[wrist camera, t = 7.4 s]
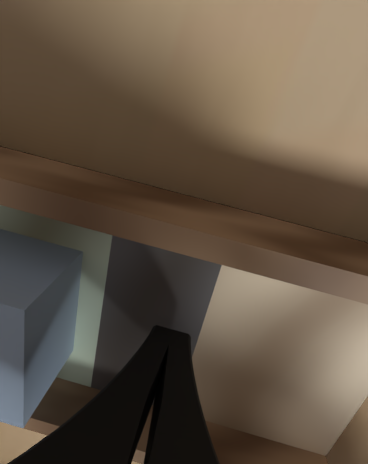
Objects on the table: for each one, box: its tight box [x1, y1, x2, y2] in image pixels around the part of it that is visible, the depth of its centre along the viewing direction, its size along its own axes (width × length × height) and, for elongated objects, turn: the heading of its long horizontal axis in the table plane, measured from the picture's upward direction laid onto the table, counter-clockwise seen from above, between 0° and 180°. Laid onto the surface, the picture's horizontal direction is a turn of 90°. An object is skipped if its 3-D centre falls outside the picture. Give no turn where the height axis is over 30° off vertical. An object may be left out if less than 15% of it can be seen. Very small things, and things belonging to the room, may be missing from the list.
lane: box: [0, 146, 368, 464], centre depth 12 cm, size 23×11×3 cm, turn 77°
